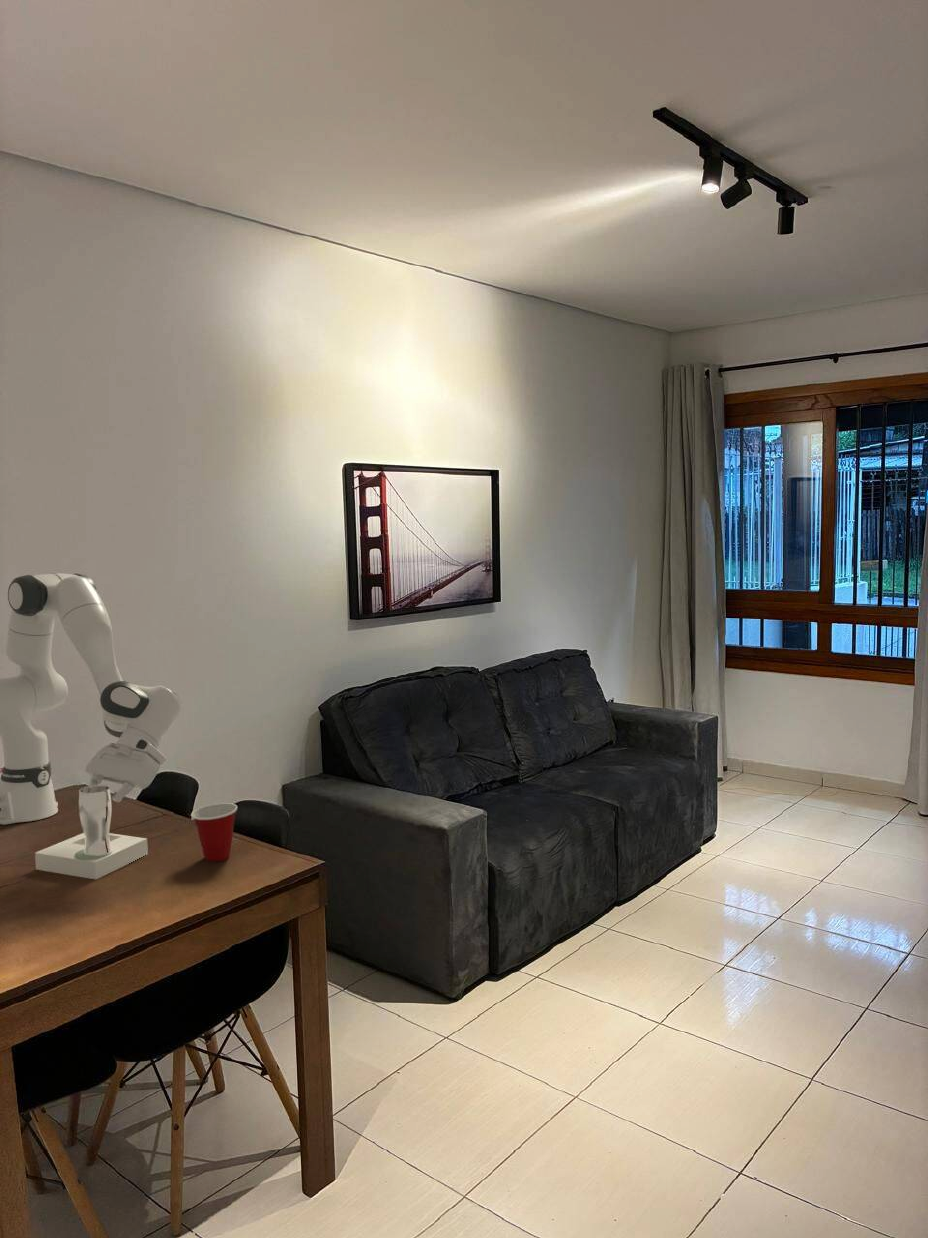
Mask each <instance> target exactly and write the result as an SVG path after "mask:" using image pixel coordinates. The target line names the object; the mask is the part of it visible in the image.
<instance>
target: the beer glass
mask: <svg viewBox="0 0 928 1238" xmlns="http://www.w3.org/2000/svg"><path fill="white" fill-rule="evenodd" d="M111 797H112V795H111V789H110V786H109V785H103V784H102V785H100V784H98V785H96V786H90V785H88V786H85V787H82V788H80V789H79V790H78V811H79V812H78V814H79V819H80V824H81V828H82V831H83V832H82V833H84V837H85V847H84V855H85V856H87V857H98V856H103V855H106V854H109V853H110V852H111V851H112V848H111V844H110V839H109V833H110V828H111V823H112V822H111V821H112V820H111V819H112V807H113V806H112V798H111Z"/></svg>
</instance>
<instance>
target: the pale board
mask: <svg viewBox="0 0 928 1238" xmlns="http://www.w3.org/2000/svg"><path fill="white" fill-rule="evenodd" d="M109 839H110V844H111V848H112V851H111V852H110V853H109V854H106V855H103V856H98V857H87V856H85V855H84V847H85V837H84V832H82V833H80V834H76V835H75V836H73V837H70V838H67V839H65V840H63V841H60V842H58V843H56V844H52V845H50V846H49V847H45V848H43V849H40V850H38V851H36V852H35V853H34V855H35V856H34V859H35V860H34V861H35V870H39V871H43V872H48V873H54V874H60V875H66V876H73V877H80V878H85V879H90V880H98V879H100V878H103V877H105V876H107V875H109V874H110V873H113V872H115V871H117V870H119V869H121V868H123V867H125V866H128V865H129V863H130V864H131V862H132V863H133V861H134V862H136V861H138V860H140V859H142V858H144V857H146V856H148V855H149V849H148V848H149V847H148V846H149V845H148V843H149V842H148V838H145V837H140V836H139V837H138V836H131V835H125V834H120V833H119V834H118V833H111V832H109ZM145 855H146V856H145ZM143 856H144V857H143ZM141 857H142V858H141ZM139 858H140V859H139ZM137 859H138V860H137ZM135 860H136V861H135Z"/></svg>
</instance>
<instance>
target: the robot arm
mask: <svg viewBox="0 0 928 1238" xmlns="http://www.w3.org/2000/svg"><path fill="white" fill-rule="evenodd" d="M7 599H8V600H7V601H8V603H9V606H10V608H11V613H10V618H9V623H8V629H7V630H8V632H7V638H6V647H5V654H6V655H7V657H8V659H9V660H10V661H11V662H12V663H14V664H16V665H18V666H19V668H20V670H19V671H20V672H19V675H17V676H13V677H7V678H0V739H1V743H2V751H3V758H4V759H3V763H4V766H3V767H1V768H0V773H1V774H0V825H9V824H16V823H25V822H32V821H39V820H42V819H46V818H49V817H51V816H54V815H55V814H57V813H58V812H59V808H58V806H59V804H58V803H59V802H58V801H57V800H56V797H55V796H56V795H55V790H54V786H53V785H54V784H53V780H52V778H51V775H52V766H51V761H49V759H50V757H49V743H48V736H47V734H45V732H44V731H42V730H41V729H39V728H36V727H33V726H32V724H31V721H30V716H29V715H34V714H35V715H36V714H38V713H44V712H48V711H50V710H53V709H55V708H57V707H60V706H61V705H63V704H64V703H65V702H66V700H67V697H68V694H69V689H68V688H69V687H68V683H67V682H66V680H65V678H64V677H63V675H61V674H59V673H58V672H57V671H56V669H55V668H54V664H53V661H52V648H53V647H52V646H53V639H54V638H53V637H54V636H53V635H54V631H55V618H56V616H58V618H59V619H60V622H61V625H62V628H63V630H64V631H65V634H66V635H67V637H68V638H69V640H70V641H71V644H72V645H73V646H74V648H75V649H76V651H77V652H78V654H79V656H80V657H81V659H82V660H83V661H84V663H85V664H86V666H87V668H88V669H89V671H90V673H91V675H92V678H93V681H94V682H95V685H96V687H97V690H98V692H99V695H100V698H99V702H100V708H101V713H102V717H103V725H104V727H105V729H106V731H107V732H108V733H109V734H110V735H112V736H113V737H114V738H115V737H116V738H118V739H117V741H116V742H115V743H114V742H112V743H110V744H108V745H105V746H103V747H102V748H100V749H99V750H98V751H97V752H96V754H95V755H94V756H93V757H92V758H91V759H90V761H89V762H88V763H87V765H86V766H85V773H86V774H88V775H89V776H90V781H89V786H96V785H100V784H101V783H102V782H103V781H104V782H105V781H106V782H109V783H114V784H118V785H122V787H121V788H120V789H118V790H117V791H114V792H113V794H112V795H111V801H114V802H116V803H120V802H122V801H123V798H124V797H125V796H127V795H128V794H130V793H131V792H132V791H133V789H135V788H136V789H141V790H145V789H146V788H148V787H149V786H150V785H151V784H152V782H153V780H155V778H156V776H157V775H158V773H159V771H160V768H161V766H163V765H164V764H165V762H166V760H167V757H166V756H165V755H164V754H163V753H162V752H161V751H160V750H159V749H158V748H159V747H160V745H161V741H162V739H163V738H164V736H165V735H167V734H168V733H169V732H170V730H171V729H172V726H173V725H174V723H175V722H176V720H177V718H178V716H179V714H180V712H181V709H182V705H181V700H180V698H179V697H178V696H177V694H176V693H175V692H174V691H172V689H171V688H168V687H167V686H164V685H155V686H144V685H139V684H134V683H131V682H129V681H125V680H123V678H122V675H121V673H120V670H119V668H118V664H117V660H116V656H115V655H116V653H115V646H114V645H115V644H114V643H115V642H114V633H113V627H112V621H111V619H110V615H109V613H108V610H107V608H106V605H105V604H104V602H103V600H102V598H101V596H100V595H99V592H98V591H97V587H96V584H95V582H94V581H93V579H92V578H91V577H89V576H87V575H84V574H81V573H73V574H71V573H61V572H58V573H57V572H52V573H43V574H34V575H31V574H25V575H22V576H18V577H15V578H13V580H12V581H11V582H10V584H9V586H8V590H7Z"/></svg>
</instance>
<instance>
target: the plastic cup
mask: <svg viewBox="0 0 928 1238" xmlns="http://www.w3.org/2000/svg"><path fill="white" fill-rule="evenodd" d="M237 810H238V805H237V804H235V803H229V802H222V803H221V802H220V803H212V804H209V805H204V806H201V807H199V808H195V810H193V811H192V812H191V814H190V817H191V818H193V820H194V823H195V826H196V829H197V832H198V837H199V842H200V845H201V849H202V853H203V856H204V859H205V860H206V861H207V862H214V861H215V862H221V861H225V860H228V859H229V858H228V857H230V855H231V849H232V848H231V846H232V842H233V834H234V827H235V825H234V824H235V821H236V819H235V818H236V812H237ZM215 862H214V863H215Z"/></svg>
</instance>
